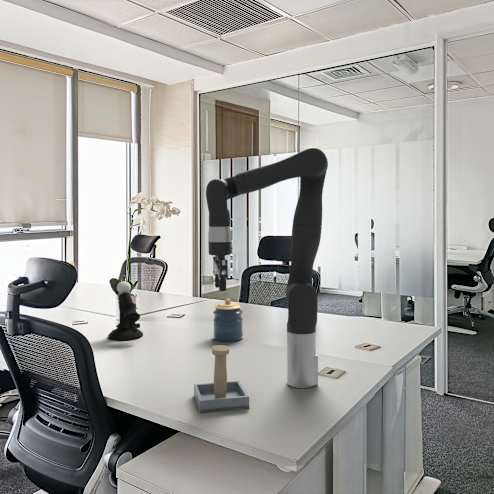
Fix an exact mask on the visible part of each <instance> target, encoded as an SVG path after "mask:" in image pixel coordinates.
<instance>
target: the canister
mask: <svg viewBox="0 0 494 494" xmlns="http://www.w3.org/2000/svg"><path fill="white" fill-rule="evenodd" d="M214 308H215V310H213V313H212V314H213V315H214V317H213V338H214V340H215V341H218V342H226V343H227V342H236V341H237V342H238V341H241V340H242V339H243V336H244V332H243V331H244V330H243V326H244V325H243V324H244V323H243V320H244V319H243V317H242V314H243V313H244V311H243V310H242V309H241V308H242V306H241V305H240V304H238V303H237V302H233V301H231V299H230V298H226V299H225V300H224V302H219V303H218V304H217V305H215V306H214Z"/></svg>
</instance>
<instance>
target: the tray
mask: <svg viewBox="0 0 494 494" xmlns="http://www.w3.org/2000/svg"><path fill="white" fill-rule="evenodd" d="M193 397H194V400H195V403H196V405H197V408H198V412H199V414H208V413H217V412H218V413H221V412H228V411H238V410H239V411H240V410H249V409H250V396H249V394H248V392H247V391H246V389H245V388H244V386H243V384H242V382H241V381H240V380H231V381H228V380H227V389H226V398H215V392H214V382H209V383H208V382H207V383H195V384H193Z"/></svg>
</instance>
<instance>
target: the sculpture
mask: <svg viewBox="0 0 494 494" xmlns="http://www.w3.org/2000/svg"><path fill="white" fill-rule="evenodd" d="M131 289H132V285H131V284H130V283H129V282H128V281H126V280H125V281H124V280H123V281H120V282H118V284H117V285H116V291H117V292H118V293H117V294H118V295H117V303H118V310H119V323H118V324H117V325H116V326H115V327H116V328H115V329H113V330H112V331H110V333H108V336H107V338H108V340H110V341H115V342H125V341H135V340H137V339H141V338H143V336H144V332H142V331H141V330H140V329H139V328H140V327H141V323H139V322H138V321H139V320H140V318H141V315H140V313H139V312H137V304H136V303H134V302H133V299H132V292H131ZM136 322H138V323H136Z"/></svg>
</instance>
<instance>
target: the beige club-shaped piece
mask: <svg viewBox="0 0 494 494" xmlns="http://www.w3.org/2000/svg"><path fill="white" fill-rule="evenodd" d="M211 350H212V351H211V352H212V355H214V370H213V383H214V392H215V398H226V389H227V382H228V369H227V355H229V354H230V347H229V346H227V345H225V344H223V345H222V344H220V345H219V344H217V345H213V346H212V348H211Z"/></svg>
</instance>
